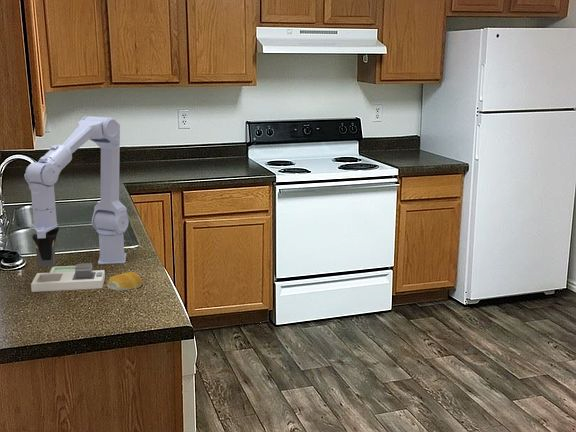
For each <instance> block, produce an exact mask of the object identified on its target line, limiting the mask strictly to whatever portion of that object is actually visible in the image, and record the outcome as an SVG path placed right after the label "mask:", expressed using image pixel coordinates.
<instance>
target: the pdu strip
mask: <svg viewBox="0 0 576 432" xmlns="http://www.w3.org/2000/svg"><path fill="white" fill-rule="evenodd" d="M75 266H76V267H75V271H74V272H53V273H50V272H40V273H39V272H37V273H36V275H35V276H34V277H33V279H32V282H31V284H30V288H31V293H35V292H36V293H37V292H55V291H58V292H59V291H75V290H93V289H94V290H95V289H103V287H104V282H105V278H106V276H105V275H106V273H105V269H100V270H99V269H97V270H93V263H92V262H86V263H85V262H84V263H76V265H75Z"/></svg>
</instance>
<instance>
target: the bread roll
mask: <svg viewBox="0 0 576 432" xmlns="http://www.w3.org/2000/svg"><path fill="white" fill-rule="evenodd" d="M106 285H107V288H108V289H110V290H113V291H116V292H117V291H118V292H123V291H124V292H125V291H129V290H133V289H139V288H140V287H141V286H142V285H143V280H142V277H141V276H140V275H139V274H138V273H137V272H133V271H129V272H123V273H119V274H115V275H112V276H110V278H109V279H108V280H107V284H106Z"/></svg>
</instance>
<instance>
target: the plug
mask: <svg viewBox="0 0 576 432" xmlns="http://www.w3.org/2000/svg"><path fill="white" fill-rule="evenodd" d="M34 246H35V251H36V252H35V253H36V259H37V260H36V262H37V268H39V267H55V266H54V265H55V264H56V261H57V258H56V257H57V256H56V250H55V247H56V246H55V247H54V241H53V246H52V256H51V260H42V258H41V255H40V252H39V249H38V246H37V244H36V243H35V245H34Z"/></svg>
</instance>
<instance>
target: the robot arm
mask: <svg viewBox="0 0 576 432" xmlns="http://www.w3.org/2000/svg"><path fill="white" fill-rule="evenodd" d="M89 141H91V142H93V143H95V144H96V145H97V147H99V148H100V199H99V202H97V203H96V204H95V205H94V206H93V214H92V217H91V225H92V227H93V228H94V229H95V230H96V233H98V243H99V246H98V247H99V258H98V261H97V265H106V264H107V265H110V264H125V263H126V262H127V261H126V260H127V253H126V252H125V243H124V241H125V240H124V233H126V231H127V229H128V227H129V221H130V219H129V215H128V212H127V211H128V210H127V209H128V208H127V207H126V206H125V205H124V204H123V203H122V202H121V201H120V162H121V161H120V152H121V150H120V148H121V145H120V142H121V124H120V123H119V122H118V121H117V119H115V118H114V117H112V116H109V117H107V116H106V117H105V116H92V115H91V116H90V115H85V116H83V117H82V118H81V120H79V121H77V127H76V128H75V130H74V131H72V133H71V134H70V135H69V136H68V138H66V139H65V141H64V142H63V143H62V144H53V145H52V146H50V150H48V151H47V152H45V154H44V155H43V156H41V157H40V158H39V160H38V161H36V162H35V161H34V162H31V163H30V164H29V165H28V166H27V167H26V169H25V173H24V175H23V176H24V180H25V181H26V182H27V184H28V189H29V191H30V192H31V205H32V207H31V208H32V217H33V223H30V224H29V225H28V227H29V228H30V229H33V230H35V232H36V233H33V234H32V240H33V241H34V243H35V245H36V244H37V246H38V249H39V252H40V255H41V258H42V260H51V256H52V246H53V241H54V247H56V239H57V236H58V233H59V230H60V227H59V224H58V222H57V221H58V219H57V210H56V209H57V207H56V197H55V196H56V193H55V184H56V183H57V182H58V180H59V176H60V174H61V172H62V170H63V169H64V168H65V167H66V166H68V164H70V163H71V161H72V159H73V153H75V152H76V151H77V150H78V149H79V148H81V147H82V146H83V145H84V144H86V143H87V142H89Z"/></svg>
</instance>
